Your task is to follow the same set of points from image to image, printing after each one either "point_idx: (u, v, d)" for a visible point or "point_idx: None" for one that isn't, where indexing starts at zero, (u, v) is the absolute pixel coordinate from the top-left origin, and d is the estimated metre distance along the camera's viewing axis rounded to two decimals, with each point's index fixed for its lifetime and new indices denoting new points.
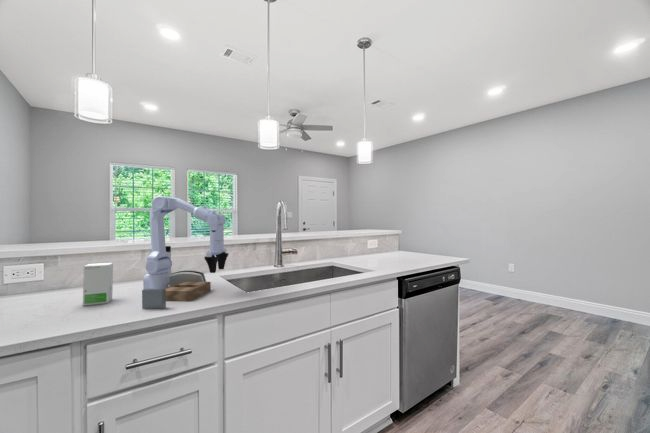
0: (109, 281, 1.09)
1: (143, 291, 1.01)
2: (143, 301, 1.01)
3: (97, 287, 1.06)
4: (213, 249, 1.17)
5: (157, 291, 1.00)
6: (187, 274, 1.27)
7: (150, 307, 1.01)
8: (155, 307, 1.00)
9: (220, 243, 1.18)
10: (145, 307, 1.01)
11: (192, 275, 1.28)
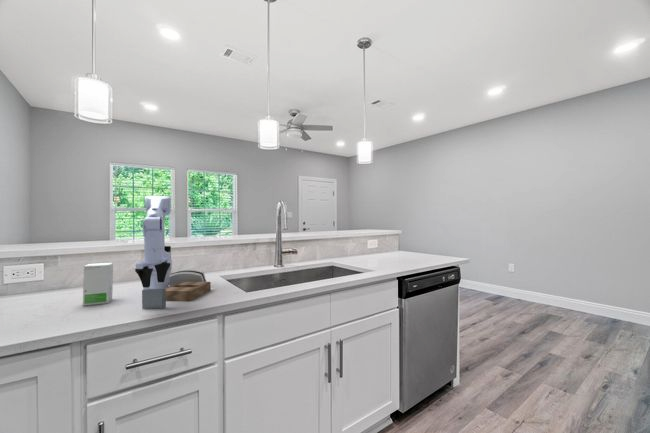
0: (109, 281, 1.09)
1: (143, 291, 1.01)
2: (143, 301, 1.01)
3: (97, 287, 1.06)
4: (147, 259, 0.99)
5: (157, 291, 1.00)
6: (187, 274, 1.27)
7: (150, 307, 1.01)
8: (155, 307, 1.00)
9: (156, 251, 1.00)
10: (145, 307, 1.01)
11: (192, 275, 1.28)
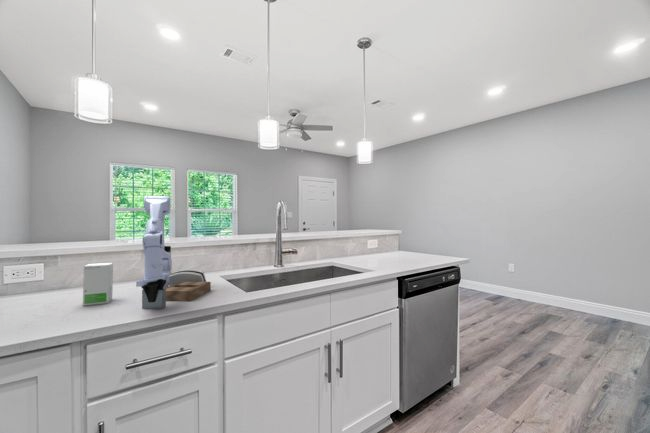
0: (109, 281, 1.09)
1: (143, 291, 1.01)
2: (143, 301, 1.01)
3: (97, 287, 1.06)
4: (147, 276, 0.99)
5: (157, 291, 1.00)
6: (187, 274, 1.27)
7: (150, 307, 1.01)
8: (155, 307, 1.00)
9: (157, 268, 1.00)
10: (145, 307, 1.01)
11: (192, 275, 1.28)
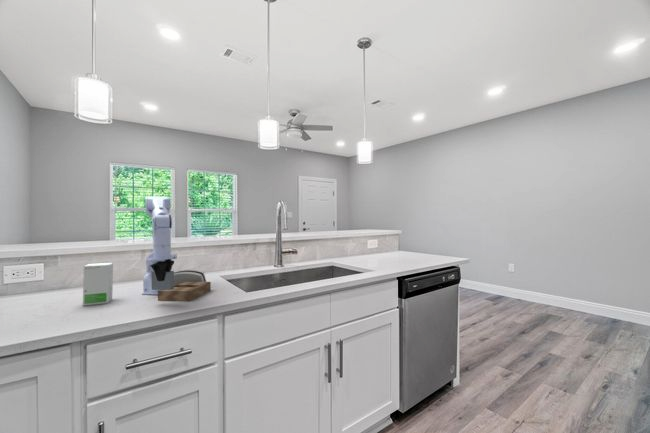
0: (109, 281, 1.09)
1: (152, 273, 1.05)
2: (152, 283, 1.05)
3: (97, 287, 1.06)
4: (157, 256, 1.03)
5: (166, 273, 1.04)
6: (187, 274, 1.27)
7: (159, 288, 1.05)
8: (164, 288, 1.05)
9: (165, 248, 1.04)
10: (154, 288, 1.05)
11: (192, 275, 1.28)
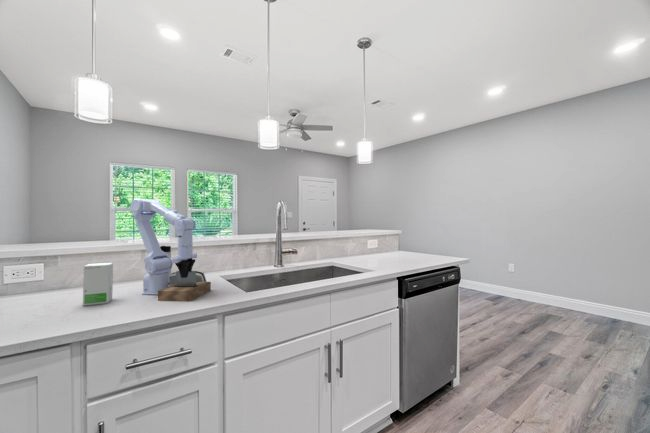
0: (109, 281, 1.09)
1: (177, 272, 1.17)
2: (177, 281, 1.17)
3: (97, 287, 1.06)
4: (181, 255, 1.15)
5: (189, 272, 1.17)
6: None
7: (183, 286, 1.17)
8: (187, 286, 1.17)
9: (188, 248, 1.16)
10: (178, 286, 1.17)
11: None
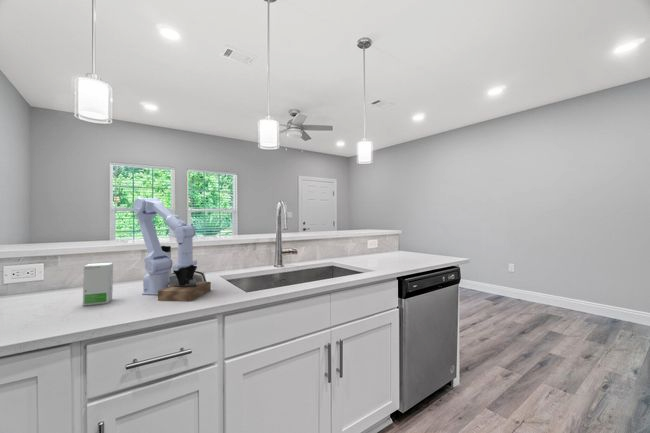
0: (109, 281, 1.09)
1: (177, 281, 1.17)
2: None
3: (97, 287, 1.06)
4: (181, 262, 1.15)
5: (189, 280, 1.17)
6: None
7: None
8: None
9: (188, 255, 1.16)
10: None
11: None
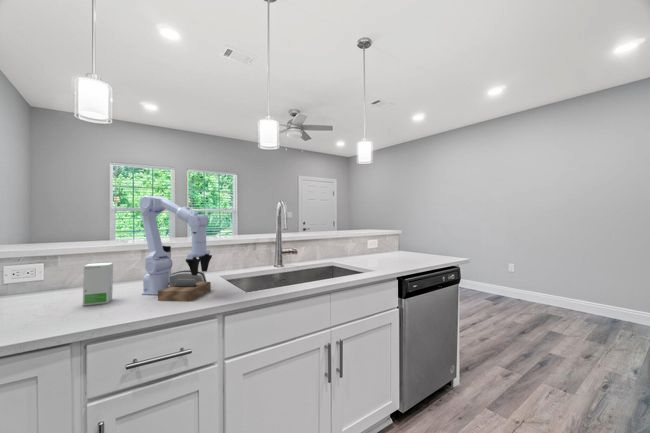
0: (109, 281, 1.09)
1: (177, 280, 1.17)
2: None
3: (97, 287, 1.06)
4: (195, 251, 1.15)
5: (189, 280, 1.17)
6: (187, 274, 1.27)
7: None
8: None
9: (202, 244, 1.16)
10: None
11: (192, 275, 1.28)
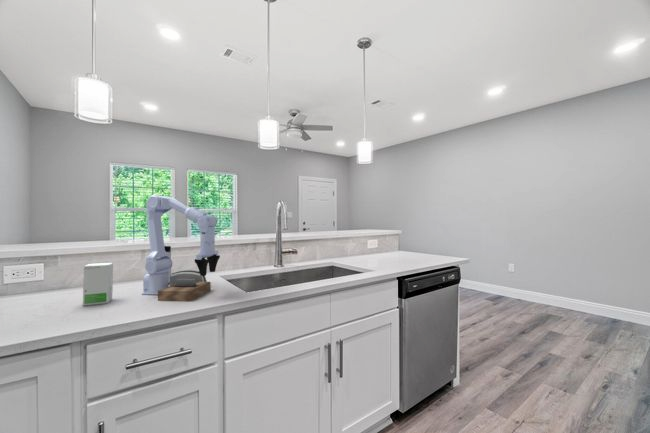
0: (109, 281, 1.09)
1: (177, 281, 1.17)
2: None
3: (97, 287, 1.06)
4: (203, 251, 1.15)
5: (189, 280, 1.17)
6: (188, 274, 1.27)
7: None
8: None
9: (211, 245, 1.16)
10: None
11: (192, 275, 1.28)
